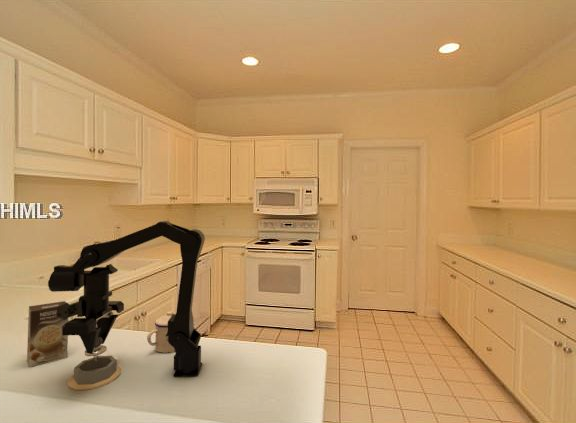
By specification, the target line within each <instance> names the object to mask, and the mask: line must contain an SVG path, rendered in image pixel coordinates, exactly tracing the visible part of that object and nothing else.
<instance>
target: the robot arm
mask: <svg viewBox="0 0 576 423" xmlns="http://www.w3.org/2000/svg"><path fill="white" fill-rule="evenodd" d="M162 237H163V238H166V239H168V240H170V241H171V242H174V243H176V244H178V245H179V247H180V249H179V250H180V256H181V260H182V264H181V265H182V266H181V273H180V280H179V290H178V296H177V303H176V304H177V305H176V313H173V315H172V316H171V318H170V319H169V320H168V331H167V334H166V337H167V336H168V342H169V344H170V345H171V346H173V347H174V349H175V351H174V352H175V354H174V356H173V371H174V373H173V377H177V378H178V377H197V376H198V375H199V373H200V371H201V368H202V366H203V362H202V345H199V344H200V342H201V338H202V333H200V332H199V331H198V330H197V329H195V325H194V323H195V322H194V315H193V301H194V295H195V294H194V293H195V284H196V275H197V268H198V261H199V258H200V257H201V253H202V252H203V251H202V250H203V247H204V244H205V240H206V239H205V234H204V233H203V231H201V230H200V229H196V228H194V229H189V228H186V227H184V226H180V225H177V224H174V223H171V221H168V220H163V221H158V222H157V223H155V224H153V225H150V226H148V227H145V228H142V229H140V230H137V231H135V232H132V233H129V234H127V235H124V236H122V237H119V238H117V239H112V240H108V241H104V242H99V243H98V242H97V243H94V244H89V245H86V246H84V247H83V248H82V249H81V252H80V257H79V258H77V260H76V262H75V263H74V264H73V265H64V264H63V265H61V264H59V265H55V266H53V271H52V273H50V276H49V279H47V280H48V282H47V287H48V289H49V291H50V292H52V293H53V292H54V293H56V292H60V293H61V292H78V291H79V290H80V289H81V288H83V295H80V296H79V298H78V300H77V301H75V302H71V303H68V302H67V303H65V304H62V305H60V306H57V314H56V316H57V317H58V318H62V320H66V319H67V318H68V319H69V318H72V317H74V316H76V317H74V318H72V319H70V320H68V322H67V323H65V324H64V325H63V326H62V335H68V336H79V338H80V339H81V341H82V344H83V347H84V349H85V350H86V351H87V353H92V352H93V350H94V347H95V344H96V341H97V338H98V336H100V337H102V340H103V341H102V344H101V345H103V344H105V341H106V339H107V338H108V336H109V334H110V332H111V329H112V328H113V327H114V324H115V322H116V320H117V318H119V314H120V313H122V312H123V311H125V304H124V303H123V301H122V300H110V297H112V296H113V291H110V275H113V274H115V273H117V272H118V271H119V269H118V268H116V267H115V266H114V265H113V264H112V263H110V264H109V263H108V264H106V265H105V266H100V265H102V264H105V263H107V262H109V261H111V260H113V259H115V258H116V257H118V256H119V255H121V254H122V253H124V252H125V251H127V250H128V251H129V250H130V249H132V248H136V247H138V246H140V245H143V244H146V243H148V242H151V241H153V240H156V239H157V238H162ZM90 268H92V269H91V270H87V269H90ZM113 311H115V312H116V313H117V314H114V312H113Z"/></svg>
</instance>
